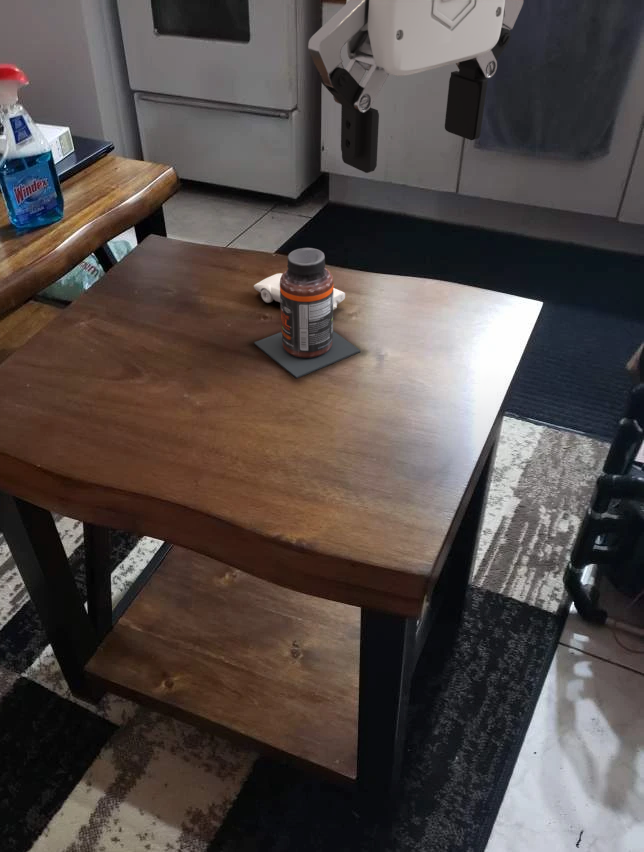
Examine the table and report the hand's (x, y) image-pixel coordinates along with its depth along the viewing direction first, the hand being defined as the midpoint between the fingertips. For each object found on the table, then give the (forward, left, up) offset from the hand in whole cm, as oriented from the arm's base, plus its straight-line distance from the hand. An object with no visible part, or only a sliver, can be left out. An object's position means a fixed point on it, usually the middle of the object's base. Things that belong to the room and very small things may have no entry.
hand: (411, 150), depth 55 cm
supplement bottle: (-4, -20, -28) cm, 35 cm away
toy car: (-9, -29, -28) cm, 42 cm away
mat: (-4, -20, -28) cm, 35 cm away
